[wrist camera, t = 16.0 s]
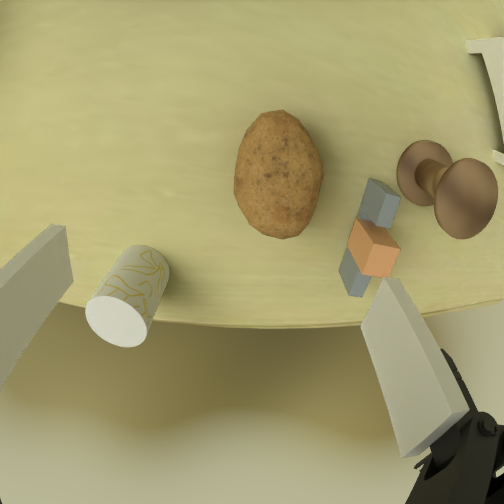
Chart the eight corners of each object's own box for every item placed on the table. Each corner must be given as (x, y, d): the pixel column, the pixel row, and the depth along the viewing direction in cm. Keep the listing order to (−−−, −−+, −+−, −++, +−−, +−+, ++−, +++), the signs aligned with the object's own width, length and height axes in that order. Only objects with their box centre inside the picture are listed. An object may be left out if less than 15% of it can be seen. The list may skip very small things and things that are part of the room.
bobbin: (406, 131, 33) (454, 148, 23) (456, 152, 33) (506, 175, 24) (388, 195, 37) (426, 230, 27) (438, 209, 38) (480, 245, 28)
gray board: (368, 178, 36) (386, 193, 31) (382, 181, 36) (401, 197, 31) (338, 270, 43) (348, 295, 38) (351, 272, 43) (362, 297, 38)
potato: (315, 108, 32) (331, 111, 25) (314, 217, 39) (326, 246, 32) (231, 110, 32) (224, 113, 26) (239, 220, 39) (235, 250, 32)
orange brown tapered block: (356, 218, 37) (373, 243, 31) (380, 223, 37) (400, 249, 31) (346, 245, 39) (361, 274, 33) (370, 249, 39) (387, 278, 33)
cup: (180, 269, 43) (159, 326, 33) (151, 300, 46) (127, 355, 36) (136, 234, 40) (101, 283, 30) (110, 268, 43) (76, 319, 33)
